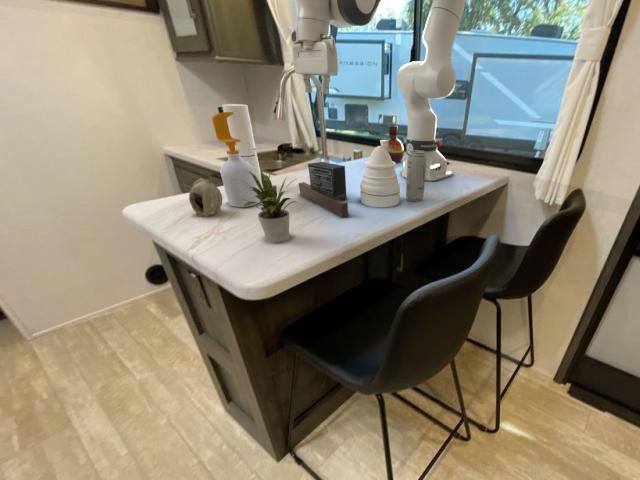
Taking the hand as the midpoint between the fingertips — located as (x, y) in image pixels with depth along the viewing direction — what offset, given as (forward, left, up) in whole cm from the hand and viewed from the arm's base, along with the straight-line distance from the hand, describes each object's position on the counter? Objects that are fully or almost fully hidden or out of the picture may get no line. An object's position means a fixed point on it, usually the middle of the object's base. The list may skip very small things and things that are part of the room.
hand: (316, 93), depth 99 cm
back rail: (+9, +14, -29) cm, 34 cm away
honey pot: (-8, +21, -29) cm, 37 cm away
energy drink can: (-19, +26, -29) cm, 44 cm away
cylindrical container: (+20, -16, -29) cm, 39 cm away
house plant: (+32, +29, -29) cm, 52 cm away
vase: (-52, -25, -29) cm, 65 cm away
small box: (+4, +9, -29) cm, 31 cm away
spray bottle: (+28, -1, -29) cm, 40 cm away
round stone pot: (+39, +3, -29) cm, 49 cm away
